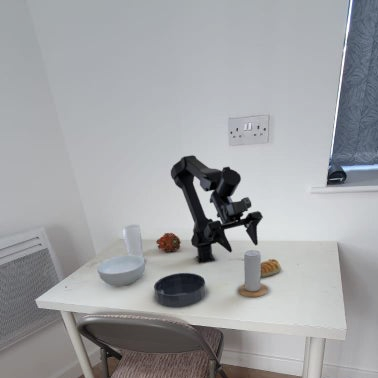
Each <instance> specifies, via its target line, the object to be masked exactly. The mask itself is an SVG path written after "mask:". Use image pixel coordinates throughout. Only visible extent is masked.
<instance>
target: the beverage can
mask: <svg viewBox="0 0 378 378" xmlns="http://www.w3.org/2000/svg"><path fill="white" fill-rule="evenodd" d="M261 261H262V260H261V251H259V250H251V249H250V250H246V251H245V252H244V256H243V262H244V263H243V264H244V265H243V266H244V267H243V268H244V269H243V270H244V284H245V289H246V290H247V291H249V292H256V291H258V290H259V289H260V284H261V276H260V273H261V263H262V262H261Z"/></svg>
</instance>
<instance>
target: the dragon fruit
mask: <svg viewBox="0 0 378 378" xmlns="http://www.w3.org/2000/svg"><path fill="white" fill-rule="evenodd" d="M181 243H182V241H181V240H180V237H178V235H176V234H175V233H173V232H165V233H164V234H163V235H162V236H161V237H160V238H158V239H156V244H157V248H158V249H159V250H164V252H165V253H168V252H169V251H170V252H171V253H173V252H175V251H176V250H179V249H180V248H181Z"/></svg>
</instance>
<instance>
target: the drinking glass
mask: <svg viewBox="0 0 378 378" xmlns="http://www.w3.org/2000/svg"><path fill="white" fill-rule="evenodd" d="M121 229H122V234H123V239H124V243H125V245H126V249H127V252H128V255H137V256H140V257H142V258H143V259H144V260H145V258H144V251H143V240H142V232H141V227H140V225H139V224H138V223H131V224H127V225H124V226H123V227H122V228H121Z"/></svg>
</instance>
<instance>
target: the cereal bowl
mask: <svg viewBox="0 0 378 378" xmlns="http://www.w3.org/2000/svg"><path fill="white" fill-rule="evenodd" d="M143 258H144V257H143ZM143 258H142V257H140V256H137V255H129V254H121V255H117V256H113V257H110V258H107V259H105V260H103V261H101V262H100V263H99V264H98V265H97V267H96V268H97V269H96V270H97V274H98V276H99V278H100V279H101V280H102V281H103V282H104V283H106V284H109V285H111V286H120V287H122V286H127V285H130V284H132V283H134V282H136V281H138V280H139V279H140V278H141V277H142V276H143V275H144V273H145V271H146V262H145V261H146V260H145V258H144V259H143Z"/></svg>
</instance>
